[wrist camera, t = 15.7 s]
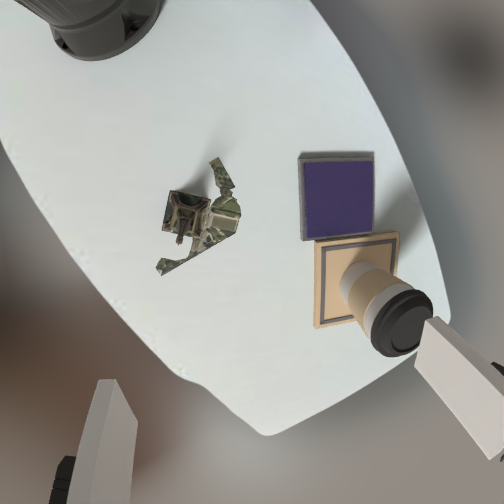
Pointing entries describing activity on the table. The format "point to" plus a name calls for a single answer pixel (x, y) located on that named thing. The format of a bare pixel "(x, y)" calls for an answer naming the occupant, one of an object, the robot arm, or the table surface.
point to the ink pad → (336, 197)
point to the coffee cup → (385, 308)
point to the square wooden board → (337, 261)
